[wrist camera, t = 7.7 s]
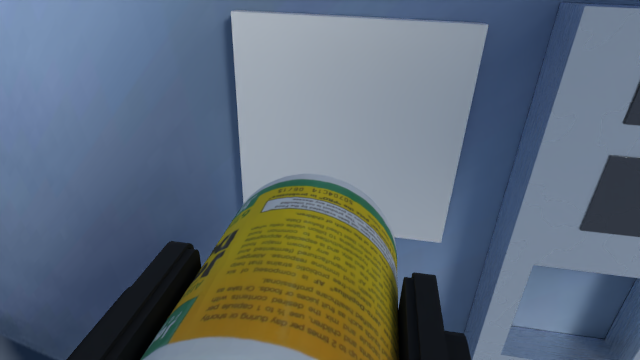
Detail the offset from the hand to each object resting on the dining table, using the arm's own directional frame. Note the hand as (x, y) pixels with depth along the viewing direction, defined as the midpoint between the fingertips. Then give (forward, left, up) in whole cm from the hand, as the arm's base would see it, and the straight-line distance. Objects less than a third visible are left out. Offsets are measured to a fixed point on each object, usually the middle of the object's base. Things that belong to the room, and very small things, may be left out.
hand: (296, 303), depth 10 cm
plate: (0, 0, -13) cm, 13 cm away
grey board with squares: (+5, +14, -13) cm, 20 cm away
